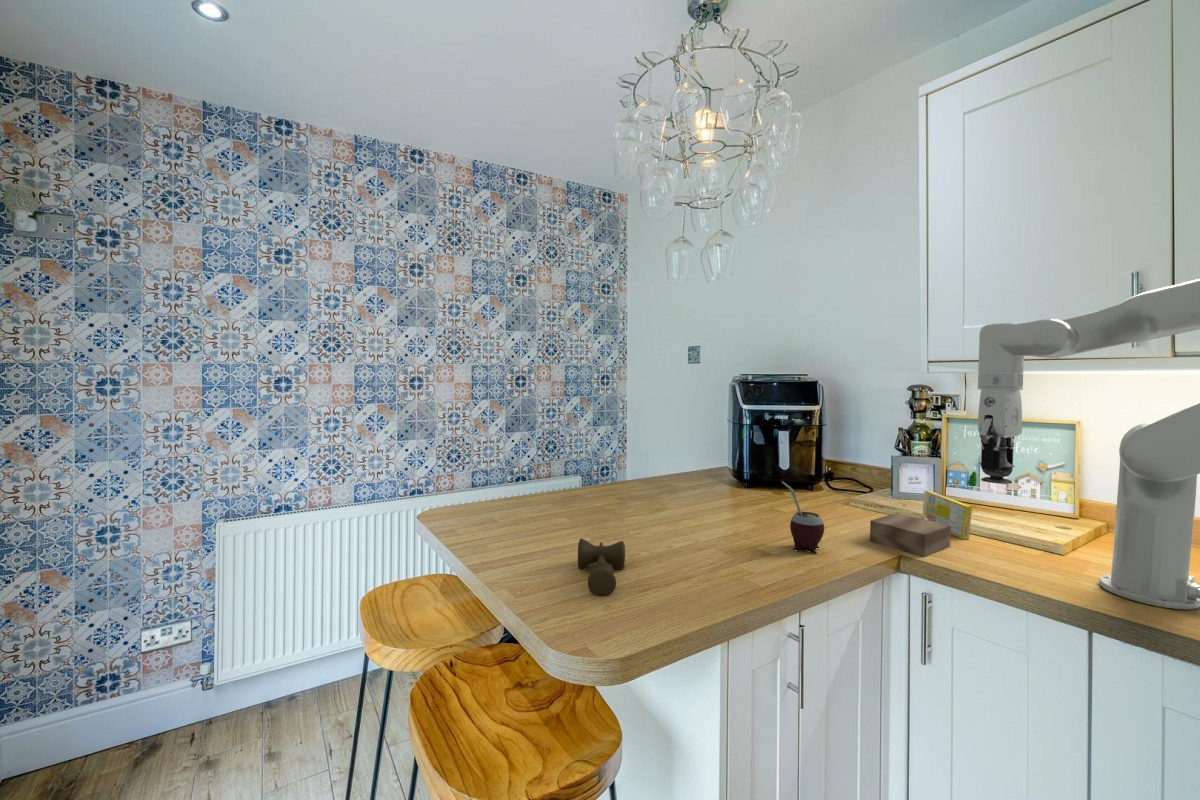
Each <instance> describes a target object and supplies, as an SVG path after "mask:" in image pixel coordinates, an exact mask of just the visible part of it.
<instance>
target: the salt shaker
mask: <svg viewBox="0 0 1200 800" xmlns="http://www.w3.org/2000/svg"><path fill="white" fill-rule="evenodd" d="M990 435H997V434H990ZM993 442H995V439H993ZM1007 448H1008V447H1007V446H1006V438H1003V437H1002V436H1001V439H1000V445H999V450H998V451H1001V456H1000V469H999V470H991V469H983V468H981V470H982V472H983V473H984V474H985V475H987V476H984V477H983V478H982V477H981V478H980V481H982V482H985V483H991V484H1000V485H1001V484H1002V485H1003V484H1004V485H1007V484H1008V485H1009V484H1013V481H1011V480H1010V479H1008V478H1005V477H1008V476H1010V475H1011V474H1012V472H1013V468H1015V465H1014V464H1013V465H1011V464H1010V463H1008V462H1007V458H1006V449H1007ZM979 465H980V466H981V462H979Z"/></svg>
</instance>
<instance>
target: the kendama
mask: <svg viewBox="0 0 1200 800" xmlns="http://www.w3.org/2000/svg"><path fill="white" fill-rule="evenodd" d="M577 545H578V547H577V568H578V570H583V569H586V568H587V567H589V566H590V565H591V567H590V568H589V569H590V570H589V576H588V578H587V588H588V590H589V593H591V594H592V595H594V596H598V597H608V596H610V595H611V594H613V593H614V591H615V590H616V588H617V587H616V586H617V578H616V576H615V572H614V571H615V570H614V568H613V567H615V568H616V569H618V570H621V571H622V570H623V569H624V568H625V562H626V546H625V545H626V544H625V542H624V541H623V540H621V541H617V542H615V543H613V544H610V545H604V543H603V542H602V541H600V543H599V545H595V544H592V543H591V542H589V541H587V540H586V539H585V538H579V539H578V544H577Z"/></svg>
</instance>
